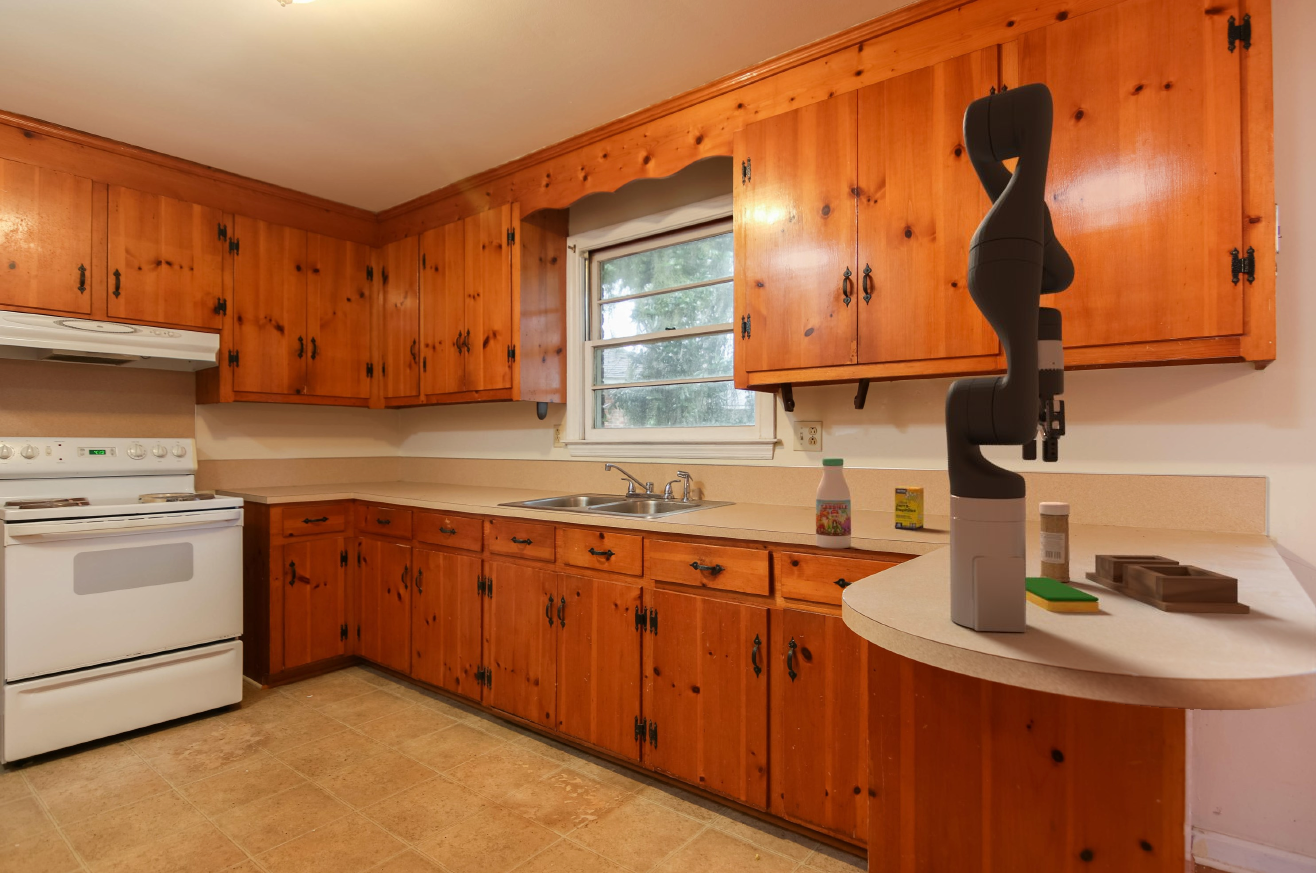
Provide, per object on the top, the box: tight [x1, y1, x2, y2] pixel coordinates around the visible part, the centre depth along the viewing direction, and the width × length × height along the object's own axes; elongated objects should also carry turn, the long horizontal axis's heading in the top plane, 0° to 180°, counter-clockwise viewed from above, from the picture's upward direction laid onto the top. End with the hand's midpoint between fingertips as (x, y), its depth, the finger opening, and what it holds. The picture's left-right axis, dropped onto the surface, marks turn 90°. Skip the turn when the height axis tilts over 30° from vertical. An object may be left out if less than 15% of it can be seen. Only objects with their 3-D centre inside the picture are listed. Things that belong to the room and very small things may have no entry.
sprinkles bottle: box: [1038, 501, 1071, 583], centre depth 116 cm, size 5×5×14 cm
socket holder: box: [1085, 554, 1250, 614], centre depth 106 cm, size 22×11×4 cm, turn 173°
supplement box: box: [894, 485, 925, 531], centre depth 179 cm, size 6×6×11 cm
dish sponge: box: [1026, 576, 1100, 613], centre depth 103 cm, size 7×14×2 cm, turn 177°
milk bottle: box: [815, 457, 852, 549], centre depth 152 cm, size 8×8×20 cm
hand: (1039, 461), depth 118 cm, fingers open, 8 cm apart
